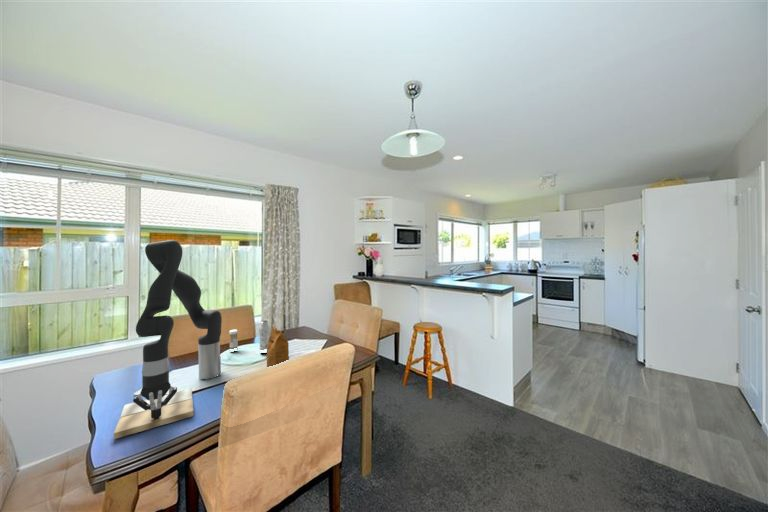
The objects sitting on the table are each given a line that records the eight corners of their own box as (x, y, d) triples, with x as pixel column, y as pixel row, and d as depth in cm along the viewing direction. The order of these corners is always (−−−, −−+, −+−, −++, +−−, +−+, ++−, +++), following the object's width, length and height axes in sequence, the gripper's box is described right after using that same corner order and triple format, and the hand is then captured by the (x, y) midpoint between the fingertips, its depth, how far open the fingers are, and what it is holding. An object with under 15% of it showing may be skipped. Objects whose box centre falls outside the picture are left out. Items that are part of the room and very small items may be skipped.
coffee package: (282, 362, 157) (281, 324, 156) (291, 370, 147) (290, 329, 147) (264, 367, 150) (263, 327, 150) (271, 375, 141) (271, 332, 140)
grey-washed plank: (191, 392, 124) (191, 388, 124) (192, 402, 116) (192, 398, 116) (124, 409, 111) (124, 404, 111) (120, 422, 103) (120, 417, 103)
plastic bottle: (273, 352, 173) (272, 320, 172) (265, 356, 166) (264, 323, 166) (264, 351, 175) (264, 319, 174) (256, 354, 169) (256, 322, 168)
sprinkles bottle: (228, 351, 174) (228, 330, 173) (236, 349, 177) (235, 328, 177) (231, 353, 171) (231, 331, 170) (239, 351, 174) (238, 330, 174)
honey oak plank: (192, 403, 115) (192, 398, 116) (193, 415, 106) (193, 410, 106) (120, 423, 102) (120, 417, 102) (113, 439, 93) (113, 433, 93)
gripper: (178, 363, 108) (178, 407, 108) (133, 372, 100) (133, 419, 100) (178, 369, 102) (178, 416, 102) (129, 379, 94) (130, 430, 94)
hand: (156, 418), depth 101 cm, fingers closed
